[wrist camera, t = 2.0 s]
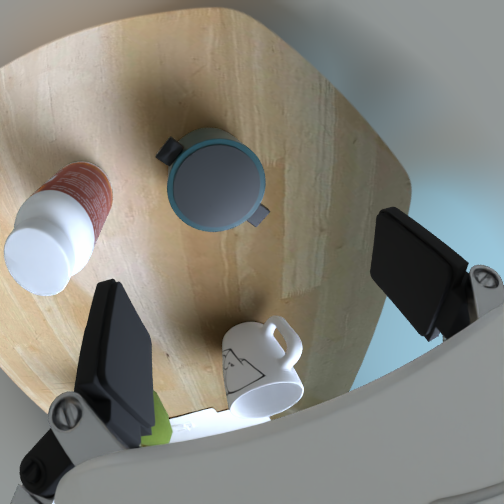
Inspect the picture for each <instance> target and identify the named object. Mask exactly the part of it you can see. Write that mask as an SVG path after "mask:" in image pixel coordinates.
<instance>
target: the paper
mask: <svg viewBox="0 0 504 504" xmlns="http://www.w3.org/2000/svg"><path fill="white" fill-rule="evenodd" d="M169 420H170V424H171V427H172V430H173V433H172V436H171V439H170V442H169V443H175V442H181V441H187V440H192V439H197V438H202V437H207V436H212V435H216V434H221V433H225V432H230V431H234V430H238V429H242V428H246V427H250V426H253V425H257V424H261V423H264V422H267V421H271V419H270V418H269V416H268V417H264V418H258V419H243V418H238V417H236V416H234V415H233V414H232V413H231V412H230V410H226V411H222V412H218V413H217V412H216V411H215V410H214V409H213V408H210V409H206V410H202V411H198V412H195V413H191V414H187V415H184V416H181V417H177V418H173V419H169ZM169 443H168V444H169Z"/></svg>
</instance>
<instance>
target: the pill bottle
mask: <svg viewBox="0 0 504 504" xmlns="http://www.w3.org/2000/svg"><path fill="white" fill-rule="evenodd" d="M112 202H113V190H112V185H111V182H110V180H109V178H108V176H107V175H106V174H105V172H104V171H103V170H102V169H101V168H99V167H98V166H96V165H94V164H92V163H89V162H74V163H71V164H68V165H67V166H65V167H63V168H62V169H61V170H59V171H58V172H57V173H56V174H55V175H54V176H52V177H51V178H50V179H49V180H48V181H47V182H46V183H45V184H43V185H42V186H41V187H40V188H39V189H38V190H37V191H36V192H35V193H33V194H32V195H31V196H30V197H29V198H28V199H27V200H26V201H25V202H24V203H23V205H22V206H21V207H20V209H19V211H18V213H17V216H16V219H15V224H14V229H13V231H12V232H11V233H10V235H9V236H8V238H7V240H6V243H5V246H4V258H5V263H6V266H7V268H8V270H9V272H10V274H11V275H12V277H13V278H14V280H15V281H16V282H17V283H18V284H19V285H20V286H22V287H23V288H24V289H26V290H27V291H29V292H31V293H34V294H36V295H41V296H51V295H55V294H57V293H59V292H60V291H62V290H63V289H64V288H65V287H66V285H67V283H68V281H69V279H70V277H71V276H72V275H74V274H76V273H77V272H79V271H80V270H81V269H82V268H83V267H84V266H85V265H86V263H87V262H88V260H89V258H90V256H91V254H92V251H93V249H94V246H95V244H96V241H97V239H98V237H99V234H100V232H101V230H102V227H103V225H104V223H105V221H106V218H107V216H108V214H109V212H110V209H111V207H112Z"/></svg>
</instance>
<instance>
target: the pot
mask: <svg viewBox="0 0 504 504" xmlns="http://www.w3.org/2000/svg"><path fill="white" fill-rule="evenodd" d="M155 157H156V158H157V159H159V160H160V161H162V162H163V163H165V164H166V165H168V166H169V168H168V181H167V193H168V199H169V202H170V205H171V207H172V209H173V210H174V212H175V213H176V215H177V216H178V217H179V218H180V219H181V220H182V221H183V222H185V223H186V224H187V225H189V226H191V227H193V228H196V229H198V230H202V231H208V232H218V231H224V230H229V229H231V228H234V227H236V226H238V225H240V224H242V223H243V222H245V221H248V222H249V223H251V224H252V225H253V226H255V227H257V226H258V225H259V224H260V223H261V221H262V220H263V219H264V218H265V217H266V216H267V215H268V214H269V212H270V211H269V209H268V208H266V207H265V206H264V205H263V204H261V201H262V198H263V195H264V191H265V173H264V169H263V167H262V164H261V162H260V161H259V159H258V157H257V156H256V155H255V154H254V153H253V152H252V151H251V150H250V149H249V148H248V147H247V146H245V145H244V144H243V143H242V142H240V141H239V140H238V139H236V138H235V137H234V136H233V135H231V134H230V133H228V132H226V131H224V130H221V129H217V128H201V129H197V130H194V131H192V132H190V133H188V134H186V135H185V136H184V137H183V138H181V139H180V140H179V141H177V140H175V139H174V138H172V137H171V136H170V137H169V138H168V139H167V141H166V142H165V143H164V145H163V146H162V147H161V149H160V150H159V151H158V153H157V154H156V156H155Z"/></svg>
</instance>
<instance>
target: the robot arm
mask: <svg viewBox="0 0 504 504" xmlns="http://www.w3.org/2000/svg"><path fill="white" fill-rule="evenodd" d="M468 264H469V263H468V262H467V261H466V260H464V259H463V258H462V257H461V256H460V255H459V254H457V253H456V252H455V251H454V250H452V249H451V248H450V247H449V246H447V245H446V244H445V243H444V242H442V241H441V240H440V239H438V238H437V237H436V236H434V235H433V234H432V233H431V232H429V231H428V230H427V229H425V228H424V227H423V226H421V225H420V224H419V223H417V222H416V221H415V220H413V219H412V218H410V217H409V216H408V215H406V214H405V213H403V212H402V211H400V210H399V209H398V208H396V207H390V208H386V209H382V210H381V211H380V212H379V214H378V215H377V218H376V227H375V237H374V246H373V254H372V262H371V269H370V274H371V277H372V279H373V280H374V281H375V283H376V284H377V285H378V286H379V287H380V288H381V289H382V290H383V292H384V293H385V294H386V295H387V296H388V297H389V298H390V300H391V301H392V302H393V303H394V304H395V305H396V307H397V308H398V309H399V310H400V311H401V313H402V314H403V315H404V316H405V317H406V318H407V320H408V321H409V322H410V323H411V325H412V326H413V327H414V328H415V329H416V331H417V332H418V333H419V334H420V335H421V336H424V337H425V338H426V339H427V341H428V342H429V341H431V340H432V339H434V338H436V337H437V336H439V333H440V332H441V334H442V335H443V343H441V344H440V345H438V346H437V347H435V348H433V349H432V350H430V351H428V352H427V353H425V354H423V355H422V356H420V357H418V358H416V359H414V360H413V361H411V362H409V363H407V364H405V365H404V366H402V367H400V368H398V369H396V370H394V371H393V372H390V373H388V374H386V375H384V376H382V377H380V378H379V379H376V380H374V381H372V382H370V383H368V384H366V385H363V386H362V387H360V388H357V389H355V390H353V391H350V392H348V393H345V394H343V395H341V396H338V397H336V398H333V399H331V400H328V401H326V402H323V403H321V404H318V405H315V406H313V407H310V408H307V409H304V410H301V411H299V412H296V413H293V414H290V415H287V416H284V417H280V418H277V419H274V420H271V421H267V422H264V423H261V424H257V425H253V426H250V427H246V428H242V429H238V430H234V431H230V432H225V433H221V434H216V435H212V436H207V437H202V438H197V439H192V440H187V441H181V442H175V443H169V444H162V445H154V446H148V447H142V446H141V445H140V444H141V436H149V435H152V429H151V427H153V426H155V412H154V397H153V378H152V343H151V338H150V335H149V333H148V332H147V330H146V328H145V326H144V325H143V323H142V321H141V319H140V318H139V316H138V314H137V312H136V310H135V308H134V307H133V305H132V303H131V301H130V299H129V297H128V295H127V293H126V291H125V290H124V288H123V286H122V284H121V283H120V282H116V281H115V280H114V279H110V280H106V281H103V282H99V283H98V284H97V286H96V290H95V293H94V297H93V301H92V305H91V309H90V313H89V317H88V321H87V326H86V328H85V331H84V336H83V341H82V346H81V351H80V356H79V362H78V368H77V374H76V381H75V388H74V392H65V393H62V394H60V395H59V396H58V397H56V398H55V400H54V401H53V402H52V404H51V406H50V408H49V412H48V422H49V424H50V427H51V428H50V430H49V431H48V432H47V433H46V434H45V435H44V436H43V437H42V438H41V439H40V440H39V442H38V443H37V444H36V445H35V446H34V447H33V448H32V450H30V451H29V453H28V454H27V455H26V456H25V457H24V459H23V460H22V462H21V465H20V478H21V481H22V483H23V485H20V484H18V486H17V489H16V491H15V493H14V496H13V498H12V501H11V504H504V285H503V282H502V279H501V277H500V276H499V275H498V273H497V272H496V271H494V270H493V269H491V268H490V267H488V266H484V265H475V266H473V267H472V268H471V269H470V272H469V273H468V272H466V269H467V266H468Z"/></svg>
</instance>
